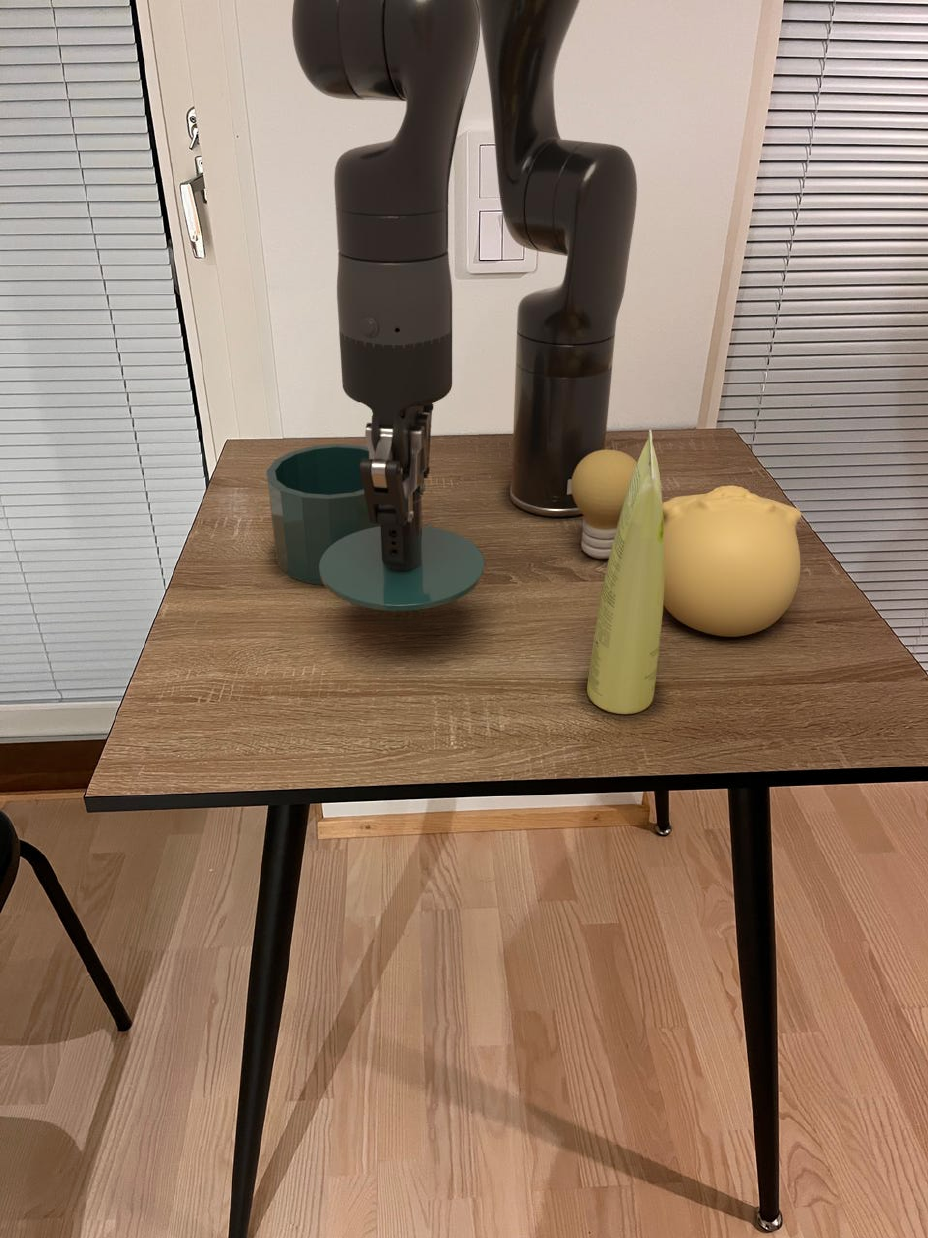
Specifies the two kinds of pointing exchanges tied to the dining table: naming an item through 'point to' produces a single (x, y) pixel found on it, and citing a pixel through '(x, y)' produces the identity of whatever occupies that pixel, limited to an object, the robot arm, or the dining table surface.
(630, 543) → the tube
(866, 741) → the dining table surface
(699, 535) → the sculpture
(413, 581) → the pot lid
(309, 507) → the pot
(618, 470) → the light bulb
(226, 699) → the dining table surface
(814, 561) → the dining table surface
